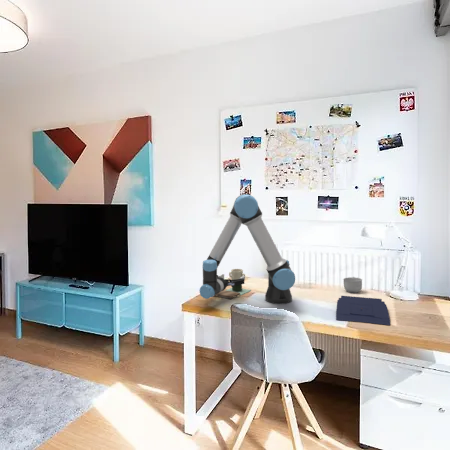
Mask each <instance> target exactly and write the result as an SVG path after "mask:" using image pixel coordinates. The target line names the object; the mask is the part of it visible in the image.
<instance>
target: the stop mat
mask: <svg viewBox="0 0 450 450" xmlns="http://www.w3.org/2000/svg"><path fill="white" fill-rule="evenodd" d="M225 290H226V291H232V292H237V293H240V295H239V296H242V295H245V294H248V293H251V292H252V290H251V289H247V288H242V290H240V291H233V290H232V287H230V288H228V289H227V288H226V289H225Z"/></svg>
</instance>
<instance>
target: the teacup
mask: <svg viewBox="0 0 450 450" xmlns="http://www.w3.org/2000/svg"><path fill="white" fill-rule="evenodd" d="M342 280H343V288H344V290H345V291H346V292H347V293H351V294H354V293H359V292H361V291H362V288H363V278H360V277H355V276H351V277H350V276H348V277H344V278H343V279H342Z"/></svg>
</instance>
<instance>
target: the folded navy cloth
mask: <svg viewBox="0 0 450 450" xmlns="http://www.w3.org/2000/svg"><path fill="white" fill-rule="evenodd" d="M385 302H386V301H383V300H382V298H375V297H373V298H372V297H364V296H363V297H361V296H350V295H340V297H338V299H337V301H336V311H335V317H336V318H335V320H337V321H346V322H347V321H349V322H359V323H360V322H361V323H369V324H377V325H385V326H391V319H390V315H389V310H388V306H387V304H386V303H385Z"/></svg>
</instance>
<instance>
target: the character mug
mask: <svg viewBox="0 0 450 450" xmlns="http://www.w3.org/2000/svg"><path fill="white" fill-rule="evenodd" d="M228 276H229V278H230V279H231V280H235V279H239V278H241V277H243V276H245V277H246V274H245V273H244V270H243V269H241V268H233V269H231V271H229V273H228ZM242 285H243V284H242ZM242 285H236V286H233V287H231V288H232V290H233V291H240V290H242V289H243V286H242Z"/></svg>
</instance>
